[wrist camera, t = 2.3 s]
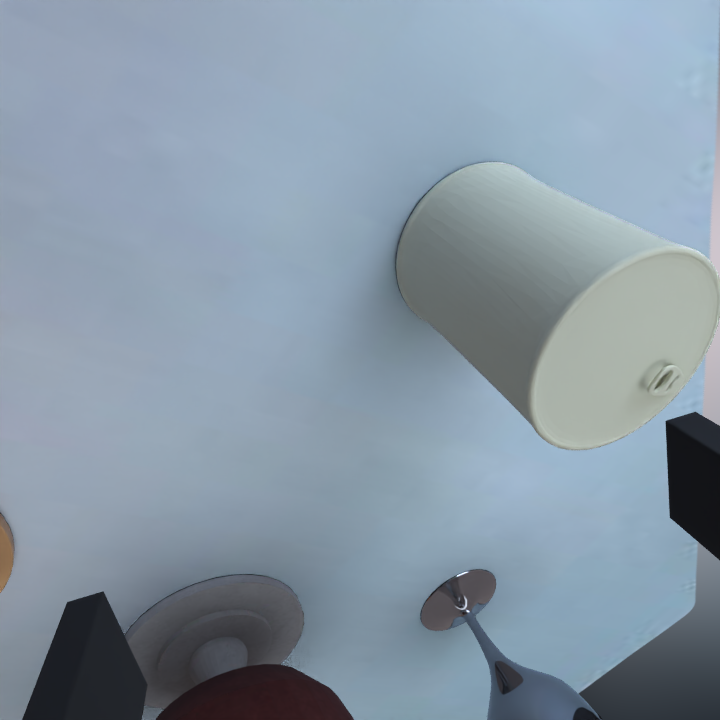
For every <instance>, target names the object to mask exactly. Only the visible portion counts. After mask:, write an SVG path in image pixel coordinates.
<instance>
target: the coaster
mask: <svg viewBox="0 0 720 720" xmlns="http://www.w3.org/2000/svg"><path fill="white" fill-rule="evenodd" d="M13 559H14V542H13V536H12V533H11V531H10V528H9V526H8V524H7V523H6V521H5V519H4V518H3V516H2V515H1V514H0V593H1V591H2V590H3V588H4V587H5V585H6V584H7V582H8V579H9V577H10V575H11V571H12V567H13Z"/></svg>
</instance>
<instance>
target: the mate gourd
mask: <svg viewBox="0 0 720 720" xmlns="http://www.w3.org/2000/svg"><path fill="white" fill-rule="evenodd" d="M303 625H304V613H303V611H302V608H301V605H300V603H299V600H298V597H297V595H296V594H295V593H294V592H293V591H292V590H291V588H290V587H288V586H286V585H285V584H283V583H282V582H280V581H278V580H275V579H272V578H269V577H265V576H257V575H232V576H226V577H220V578H214V579H211V580H207V581H204V582H201V583H197V584H194V585H192V586H190V587H187V588H185V589H183V590H180V591H178V592H176V593H174V594H172V595H171V596H169V597H167V598H165V599H164V600H162V601H160V602H159V603H157V604H156V605H154V606H153V607H152V608H151V609H149V610H148V611H147V612H146V613H144V614H143V615H142V616H141V617H140V618H139V619H138V620H137V621H136V622H135V623H134V624H133V625H132V626H131V628H130V629H129V630H128V632H127V633H126V635H125V638H126V640H127V642H128V644H129V646H130V649H131V651H132V653H133V655H134V657H135V659H136V661H137V663H138V665H139V668H140V670H141V672H142V674H143V676H144V678H145V680H146V682H147V684H148V685H147V691H146V697H145V702H144V705H146V706H149V707H155V708H162V709H164V711H163V712H162V713H161V714H160V715H159V716H158V717H157V719H156V720H354V719H353V717H352V716H351V714H350V713H349V711H348V710H347V709H346V707H345V706H344V704H343V703H342V702H341V700H340V699H339V697H338V696H337V695H336V694H335V693H334V692H333V691H332V690H331V689H330V688H329V687H327V686H325V685H323V684H322V683H320V682H318V681H316V680H314V679H312V678H311V677H309V676H307V675H305V674H303V673H302V672H300V671H298V670H296V669H294V668H292V667H289V666H284V665H280V664H281V663H282V662H283V661H284V660H285V659H286V658H287V657H288V656H289V654H290V653H291V652H292V650H293V649H294V648H295V646H296V644H297V642H298V640H299V638H300V636H301V633H302V629H303Z"/></svg>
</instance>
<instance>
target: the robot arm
mask: <svg viewBox="0 0 720 720" xmlns="http://www.w3.org/2000/svg"><path fill="white" fill-rule="evenodd" d="M666 440H667V463H668V485H669V508H670V518H671V519H672V520H673V521H675V522H676V523H677V524H678V525H679V526H680V527H682V528H683V529H684V530H685V531H686V532H687V533H689V534H690V535H691V536H692V537H693V538H694V539H696V540H697V541H698V542H699V543H700V544H701V545H703V546H704V547H705V548H706V549H708V551H710V552H711V553H712V554H713V555H714V556H715V557H717V558H718V559H719V560H720V426H719V425H717V424H715V423H714V422H712V421H710V420H709V419H707V418H705V417H703V416H702V415H700V414H698V413H696V412H694V413H690V414H687V415H684V416H680V417H677V418H674V419H670V420H667V421H666ZM147 685H148V684H147V682H146V680H145V678H144V676H143V674H142V672H141V670H140V668H139V665H138V663H137V661H136V659H135V657H134V655H133V653H132V651H131V649H130V646H129V644H128V642H127V640H126V638H125V636H124V634H123V632H122V630H121V627H120V625H119V623H118V621H117V619H116V617H115V615H114V613H113V611H112V608H111V606H110V604H109V602H108V600H107V598H106V596H105V594H104V592H100V593H96V594H93V595H90V596H86V597H83V598H80V599H77V600H73V601H70V602H67V604H66V607H65V609H64V612H63V615H62V617H61V620H60V622H59V625H58V628H57V630H56V633H55V635H54V638H53V641H52V643H51V646H50V649H49V651H48V654H47V656H46V659H45V662H44V664H43V667H42V669H41V672H40V675H39V677H38V680H37V683H36V685H35V688H34V690H33V693H32V696H31V698H30V701H29V703H28V706H27V709H26V711H25V714H24V717H23V719H22V720H142V714H143V708H144V702H145V697H146V691H147Z"/></svg>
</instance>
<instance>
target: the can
mask: <svg viewBox="0 0 720 720" xmlns="http://www.w3.org/2000/svg"><path fill="white" fill-rule="evenodd" d="M396 273H397V281H398V285H399V289H400V291H401V294H402V296H403V298H404V300H405V302H406V304H407V305H408V306H409V308H410V309H411V310H412V311H413V312H414V313H415V314H416V315H417V316H418V317H420V318H421V319H423V320H424V321H426V322H428V323H429V324H430V325H431V326H432V327H433V328H434V329H436V330H437V331H438V332H439V333H440V334H441V335H442V336H443V337H444V338H445V339H446V340H447V341H448V342H449V343H450V344H451V345H452V346H453V347H454V348H456V349H457V350H458V351H459V352H460V353H461V354H462V355H463V356H464V357H465V358H466V359H467V360H468V361H469V362H470V363H471V364H472V365H473V366H474V367H475V368H476V369H477V370H478V371H479V372H480V373H481V374H482V375H483V376H484V377H485V378H486V379H487V380H488V381H489V382H490V383H491V384H492V385H493V386H494V387H495V388H496V389H497V390H498V391H499V392H500V393H501V394H502V395H503V396H504V397H505V398H506V399H507V400H508V401H509V402H510V403H511V404H512V405H513V406H514V407H515V408H516V409H517V410H518V411H519V412H520V413H521V414H522V415H523V417H524V418H525V419H526V420H527V421H528V422H529V423H530V424H531V425H532V426H533V427H534V429H535V431H536V432H537V433H538V434H539V436H540V437H541V438H543V439H544V440H545V441H547V442H548V443H550V444H551V445H554V446H556V447H558V448H562V449H567V450H588V449H593V448H597V447H601V446H604V445H607V444H610V443H612V442H615V441H617V440H619V439H621V438H623V437H625V436H627V435H629V434H630V433H632V432H634V431H635V430H637V429H639V428H640V427H642V426H643V425H644V424H646V423H647V422H648V421H650V420H651V419H652V418H654V417H655V416H656V415H657V414H659V413H660V412H661V411H662V410H663V409H664V408H665V407H666V406H667V405H668V404H669V403H670V402H671V401H672V400H673V399H674V398H675V397H676V396H677V395H678V394H679V392H680V391H681V390H682V389H683V388H684V386H685V385H686V384H687V383H688V381H689V380H690V379H691V377H692V376H693V375H694V373H695V372H696V370H697V369H698V367H699V365H700V364H701V362H702V360H703V359H704V357H705V355H706V353H707V351H708V349H709V347H710V345H711V343H712V340H713V338H714V335H715V332H716V329H717V326H718V322H719V318H720V279H719V276H718V272H717V271H716V269H715V267H714V266H713V264H712V262H711V261H710V260H709V259H708V258H707V257H706V256H705V255H703V254H702V253H700V252H699V251H697V250H695V249H693V248H690V247H687V246H682V245H679V244H676V243H674V242H671V241H669V240H667V239H664V238H662V237H660V236H658V235H655V234H653V233H651V232H649V231H647V230H644V229H642V228H640V227H638V226H635V225H633V224H631V223H629V222H626V221H624V220H622V219H620V218H618V217H615V216H613V215H611V214H609V213H606V212H604V211H602V210H600V209H598V208H595V207H593V206H591V205H589V204H586V203H584V202H582V201H580V200H578V199H576V198H574V197H572V196H569V195H567V194H565V193H563V192H561V191H559V190H557V189H555V188H552V187H550V186H548V185H546V184H544V183H542V182H540V181H538V180H536V179H534V178H533V177H532V176H530V175H529V174H528V173H527V172H525V171H524V170H522V169H520V168H518V167H516V166H514V165H511V164H508V163H502V162H483V163H477V164H473V165H470V166H467V167H464V168H462V169H460V170H458V171H456V172H454V173H452V174H450V175H449V176H447V177H445V178H444V179H443V180H441V181H440V182H439V183H437V184H436V185H435V186H434V187H433V188H432V189H431V190H430V191H429V192H428V193H427V194H426V195H425V196H424V197H423V199H422V200H421V201H420V202H419V203H418V205H417V206H416V208H415V209H414V211H413V212H412V214H411V216H410V217H409V219H408V221H407V223H406V226H405V228H404V230H403V233H402V236H401V239H400V242H399V246H398V251H397V260H396Z"/></svg>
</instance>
